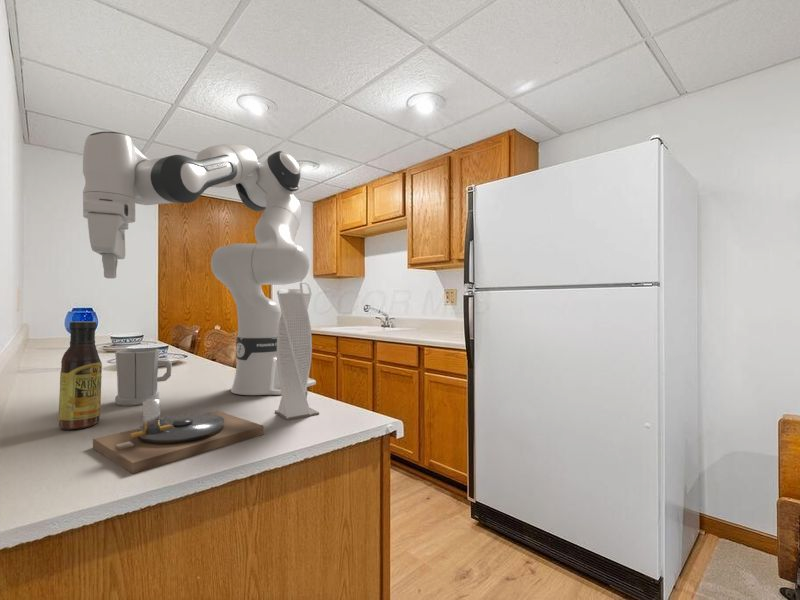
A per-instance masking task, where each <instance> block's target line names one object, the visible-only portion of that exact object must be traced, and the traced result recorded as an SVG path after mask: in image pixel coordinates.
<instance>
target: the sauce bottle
mask: <svg viewBox="0 0 800 600" xmlns="http://www.w3.org/2000/svg"><path fill="white" fill-rule="evenodd" d="M96 329H97V321H92V320H91V321H88V320H87V321H80V320H79V321H77V320H76V321H70V322H69V331H70V341H69V347H68V348H67V349H66V351H65V352H64V354H63V356H62V358H61V363H60V364H61V366H60V367H61V369H60V376H59V401H58V402H59V403H58V420H59V423H58V427H59V428H60V429H61V430H69V431H70V430H71V431H72V430H79V429H85V428H90V427H93V426H94V425H96V424H98V423H99V421H100V416H101V399H102V398H101V396H102V369H103V364H102V361H101V358H100V355H99V352H98V349H97V346H96V339H95V338H96Z"/></svg>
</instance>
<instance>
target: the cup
mask: <svg viewBox="0 0 800 600" xmlns="http://www.w3.org/2000/svg"><path fill="white" fill-rule="evenodd" d="M160 351H161V350H160V349H159V348H147V347H146V348H131V349H129V348H128V349H120V350H116V351H115V353H114V354H115V355H114V356H115V363H116V364H115V365H116V366H115V367H116V376H117V377H116V381H117V383H116V384H117V386H116V387H117V395H116V396H115V397H114V399H115V401H114V403H115V404H116V405H118V406H125V407H127V406H128V407H129V406H133V407H134V406H143V400H145V399H149V398H160V392H159V391H158V383H159V382H166V381H168V379H170V377H172V370H173V369H172V368H173V363H172V361H170V360H169V359H160ZM159 366H164V367H165V369H166V372H165V373H164V374H163V375H162V376H158V375H159V373H158V372H159Z"/></svg>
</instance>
